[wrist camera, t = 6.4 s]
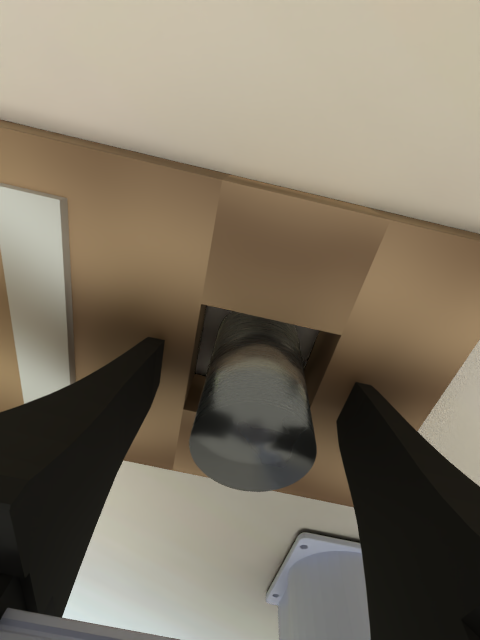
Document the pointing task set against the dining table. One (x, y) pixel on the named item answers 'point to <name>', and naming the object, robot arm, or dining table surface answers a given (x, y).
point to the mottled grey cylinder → (254, 408)
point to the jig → (219, 287)
